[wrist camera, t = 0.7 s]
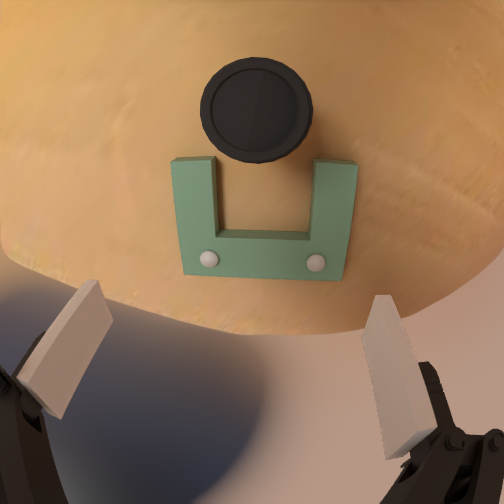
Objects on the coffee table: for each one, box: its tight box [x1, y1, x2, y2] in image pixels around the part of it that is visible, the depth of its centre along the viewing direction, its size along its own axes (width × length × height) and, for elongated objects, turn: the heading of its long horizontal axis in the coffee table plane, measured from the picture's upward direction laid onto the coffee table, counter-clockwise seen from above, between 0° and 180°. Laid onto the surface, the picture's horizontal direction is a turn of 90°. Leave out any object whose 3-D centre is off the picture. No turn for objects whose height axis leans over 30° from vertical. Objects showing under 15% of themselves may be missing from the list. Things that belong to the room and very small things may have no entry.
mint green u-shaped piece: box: [170, 156, 358, 281], centre depth 36 cm, size 16×22×3 cm
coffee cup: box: [200, 57, 313, 164], centre depth 24 cm, size 8×8×15 cm
